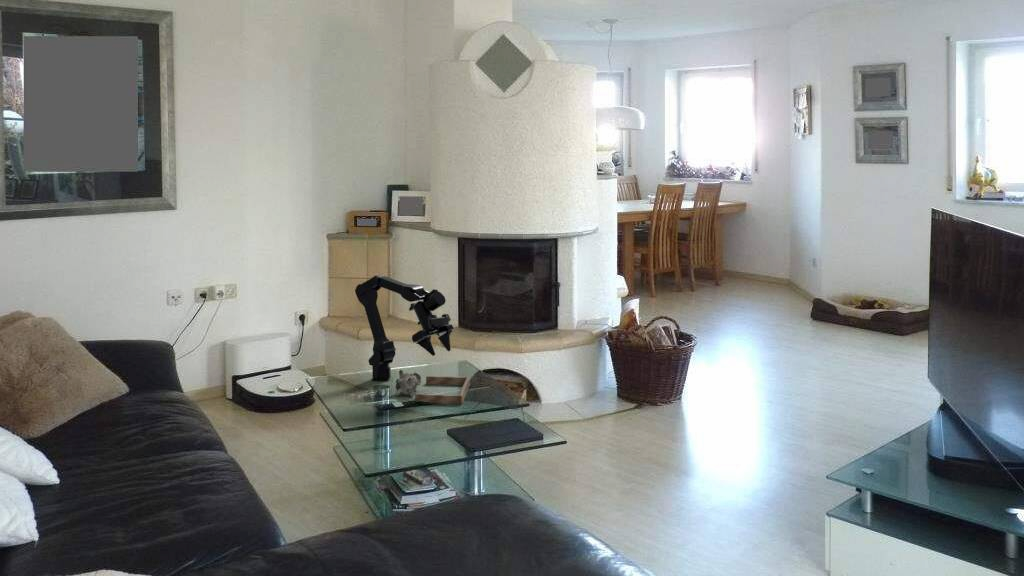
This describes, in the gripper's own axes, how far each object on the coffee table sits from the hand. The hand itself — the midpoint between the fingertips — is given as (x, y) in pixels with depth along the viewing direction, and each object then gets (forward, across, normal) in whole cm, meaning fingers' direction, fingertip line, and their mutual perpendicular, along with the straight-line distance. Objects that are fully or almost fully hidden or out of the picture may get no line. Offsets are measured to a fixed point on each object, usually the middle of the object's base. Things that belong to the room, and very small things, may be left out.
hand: (441, 353), depth 351 cm
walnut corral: (+14, -3, +6) cm, 15 cm away
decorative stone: (+8, -10, +15) cm, 20 cm away
